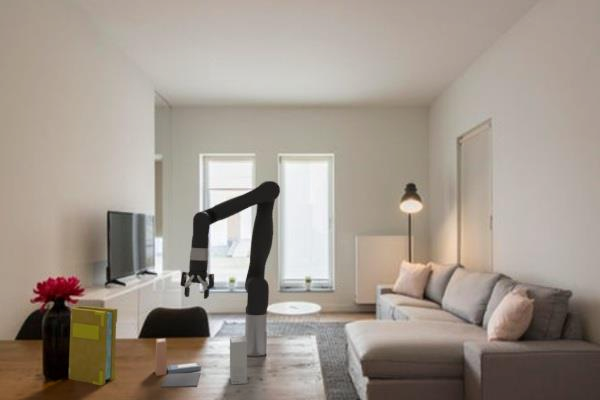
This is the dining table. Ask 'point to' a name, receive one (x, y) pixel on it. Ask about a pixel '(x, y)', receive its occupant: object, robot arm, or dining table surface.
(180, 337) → the dining table surface
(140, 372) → the dining table surface
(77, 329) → the book
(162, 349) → the tan rectangular block
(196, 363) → the blue panel box
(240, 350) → the skincare box
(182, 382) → the mat
